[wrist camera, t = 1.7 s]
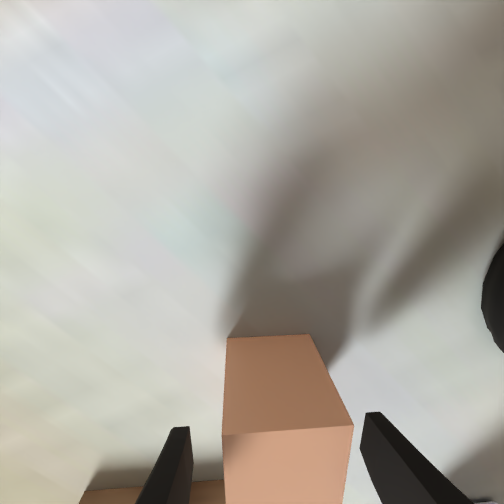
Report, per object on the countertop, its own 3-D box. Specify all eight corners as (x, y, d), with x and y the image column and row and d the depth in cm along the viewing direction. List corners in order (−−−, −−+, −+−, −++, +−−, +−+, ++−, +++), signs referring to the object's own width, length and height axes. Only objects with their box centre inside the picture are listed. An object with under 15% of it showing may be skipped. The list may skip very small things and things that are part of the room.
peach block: (309, 333, 13) (354, 425, 8) (304, 397, 14) (341, 510, 9) (226, 337, 12) (221, 435, 8) (229, 402, 14) (226, 521, 9)
